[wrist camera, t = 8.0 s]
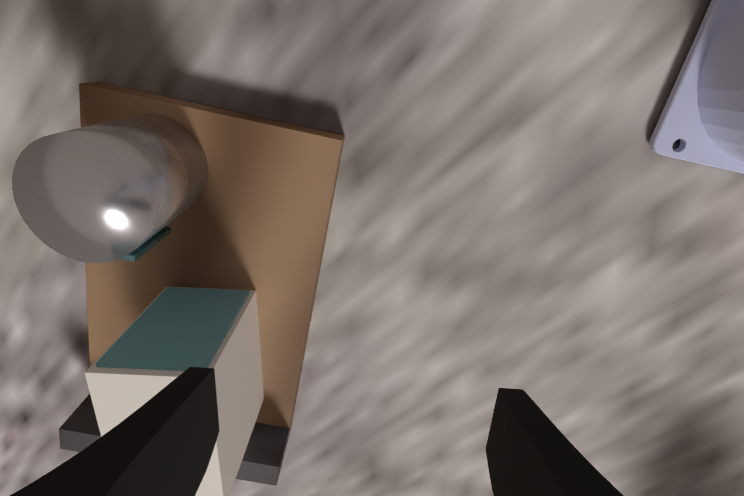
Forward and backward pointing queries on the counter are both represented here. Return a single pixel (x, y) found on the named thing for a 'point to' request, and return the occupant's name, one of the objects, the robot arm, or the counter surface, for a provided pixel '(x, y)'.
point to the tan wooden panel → (226, 249)
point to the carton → (179, 352)
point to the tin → (109, 186)
